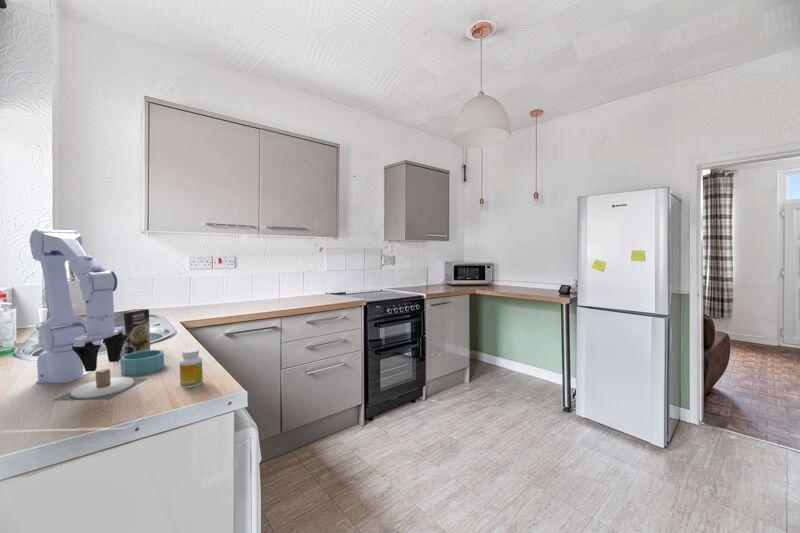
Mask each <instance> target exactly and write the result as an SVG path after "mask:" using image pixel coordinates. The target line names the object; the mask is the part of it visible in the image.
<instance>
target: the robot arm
mask: <svg viewBox="0 0 800 533" xmlns="http://www.w3.org/2000/svg"><path fill="white" fill-rule="evenodd" d="M29 244H30V252H31V256H32V259H33V260H34V261H37V262H40V264H41V270H42V275H43V279H44V285H45V291H46V298H47V302H48V308H49V314H50V317H49V318H48V319H46V320H45V321H44V322H43V323H41V324H40V326H39V327H38V343H39V346H40V348H41V349H42V350H43V351H42V352H40V354H39V355H38V357H37V361H36V364H37V365H36V366H37V367H36V368H37V380H36V381H34V382H35V384H42V383H43V384H45V383H46V384H48V383H49V384H50V383H52V384H53V383H70V382H73V381H75V380H77V379H80V378H82V377H85V376H87V375H90V374H92V372H97V366H98V354H99V351H100V349H101V346H102V345H101V344H95V342H99V341H103V342H104V345H105V348H106V351H107V352H106V353H107V354H106V355H107V359H108V362H109V363H117V362H119V360H120V358H119V357H120V353H121V349H122V347H123V344H124V342H125V341H126V339H127V335H122V334H124V333H125V327H115V324H114V313H115V309H114V306H115V304H114V292H115V291H116V290H117V288H118V283H119V282H118V277H117V275H116V273H115V271H114V270H112V269H111V270H109V269H104V267H103V266H102V265H101V264H100V263H99V262H98V260H97V259H96V258H95V257H94V256H92V255H89V254H86V252H85V250H84V249H83V246H82V245H83V238H82V235H81V233H80V232H79V231H78V230H75V229H73V230H69V229H68V230H65V229H64V230H61V229H40V228H35V229H33V230H32V231H31V233H30V237H29ZM68 261H70V262H69V268H70V269H71V271H72V273H73V274H74V275H75V276H76V278H78V280H79V289H80V291H81V294H82V295H81V297H82V300H83V301H85V318H86V319H85V318H83V317H81V316H79V315H77V314H75V313H74V309H73V304H72V298H71V292H70V287H69V281H68V276H67V271H66V262H68ZM84 369H85V371H84Z"/></svg>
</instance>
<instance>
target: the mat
mask: <svg viewBox="0 0 800 533" xmlns="http://www.w3.org/2000/svg"><path fill="white" fill-rule="evenodd" d="M133 379H134V384H133V385H132V386H131V387H129V388H127V389H125V390H123V391H120V392H117V393H114V394H110V395H106V396H101V397H95V398H87V399H77V398H73V397H71V391H70V392H67V393H65V394H63V395H61V396H59V397H56V398H54V399H53V401H81V400H82V401H83V400H84V401H85V400H86V401H87V400H88V401H89V400H91V401H93V400H94V401H95V400H111V399H113V398H115V397H116V396H119V395H120V394H122V393H125V392H126V391H128V390H131V388H133V387H134V388H135V387H136V386H137V385H139V384H141V383H142V382H144V381H147V380H148V378H133Z"/></svg>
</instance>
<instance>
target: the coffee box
mask: <svg viewBox="0 0 800 533" xmlns="http://www.w3.org/2000/svg"><path fill="white" fill-rule="evenodd" d="M114 324H115V327H125V333H124V334H122V335H127V339H126V341H125V342H124V344H123V347H122V349H121V353H120V357H122V356H124V355H127V354H129V353H134V352H138V351H145V350H151V333H150V332H151V331H150V330H151V328H150V327H151V326H150V325H151V324H150V309H149V308H139V309H138V308H134V309H128V310H121V311H116V312H115V311H114Z"/></svg>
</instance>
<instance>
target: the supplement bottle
mask: <svg viewBox="0 0 800 533" xmlns="http://www.w3.org/2000/svg"><path fill="white" fill-rule="evenodd" d="M199 355H200V350H199V349H198V348H189V349H185V350H183V351H182V352H181V357H182V358H181V359H180V360H179V383H180V387H182V388H184V389H189V388H190V389H191V388H196V387H198V386H200V385H202V384H203V379H204V378H203V376H204V375H203V358H202V357H201V356H199Z"/></svg>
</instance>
